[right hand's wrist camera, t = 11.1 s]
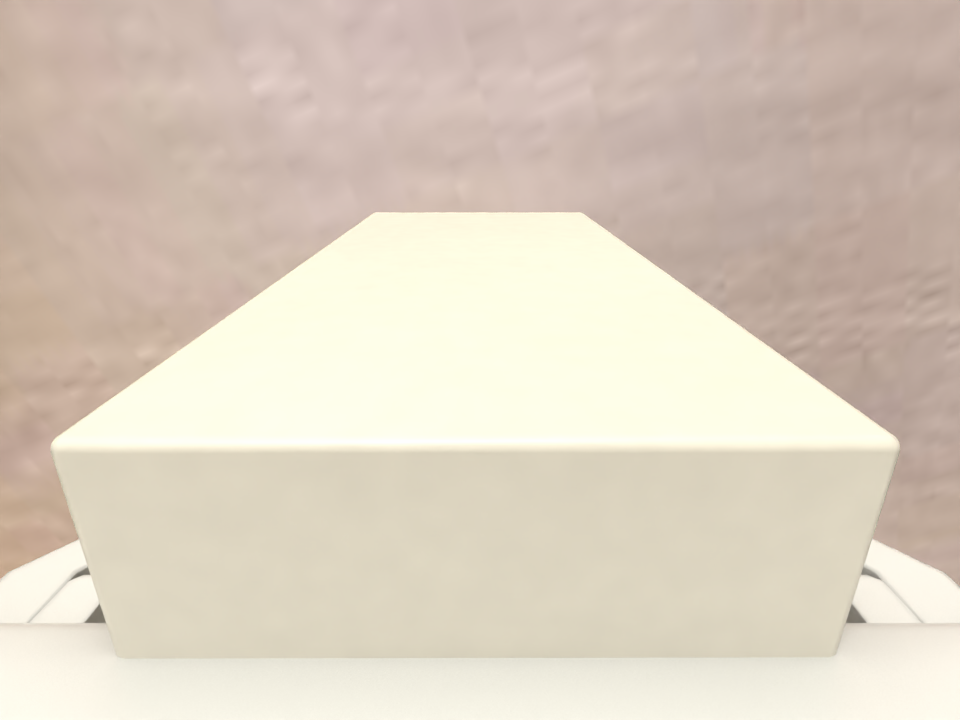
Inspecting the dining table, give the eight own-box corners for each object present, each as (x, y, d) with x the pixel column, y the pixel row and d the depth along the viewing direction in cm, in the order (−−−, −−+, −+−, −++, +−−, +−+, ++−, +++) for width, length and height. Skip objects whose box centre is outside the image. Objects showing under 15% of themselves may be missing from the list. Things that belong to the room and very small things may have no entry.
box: (372, 212, 16) (38, 442, 4) (583, 212, 16) (910, 440, 4) (407, 724, 23) (334, 1333, 11) (550, 724, 23) (623, 1332, 11)
